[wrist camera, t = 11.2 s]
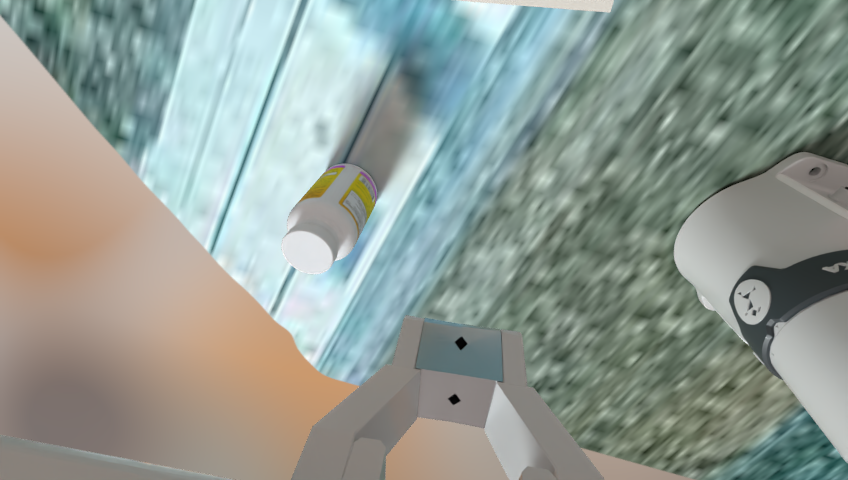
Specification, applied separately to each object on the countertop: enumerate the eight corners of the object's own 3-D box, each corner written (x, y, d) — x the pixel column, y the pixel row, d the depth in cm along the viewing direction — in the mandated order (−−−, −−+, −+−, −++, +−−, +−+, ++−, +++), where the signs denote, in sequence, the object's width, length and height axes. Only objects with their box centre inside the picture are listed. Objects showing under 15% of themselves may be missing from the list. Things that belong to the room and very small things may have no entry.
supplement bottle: (316, 200, 45) (263, 265, 34) (329, 151, 41) (275, 207, 31) (369, 223, 46) (333, 293, 35) (387, 176, 42) (353, 239, 31)
